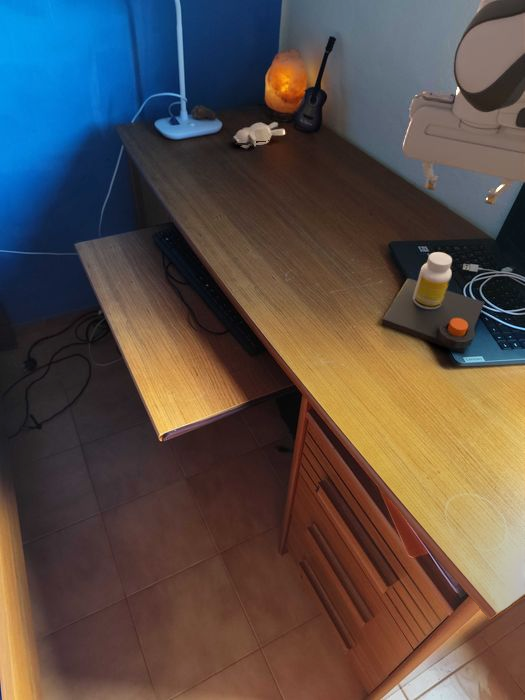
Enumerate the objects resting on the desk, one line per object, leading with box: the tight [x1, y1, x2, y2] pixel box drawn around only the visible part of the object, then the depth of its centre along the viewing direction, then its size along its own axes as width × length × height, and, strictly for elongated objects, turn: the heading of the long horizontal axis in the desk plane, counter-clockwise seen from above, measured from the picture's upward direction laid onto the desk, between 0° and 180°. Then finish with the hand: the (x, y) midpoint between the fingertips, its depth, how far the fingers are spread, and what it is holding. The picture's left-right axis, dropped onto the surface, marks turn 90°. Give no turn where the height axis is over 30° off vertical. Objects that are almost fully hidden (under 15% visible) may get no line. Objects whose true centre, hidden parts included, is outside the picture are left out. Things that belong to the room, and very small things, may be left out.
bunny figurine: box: [233, 121, 286, 149], centre depth 142 cm, size 10×5×15 cm
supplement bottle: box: [413, 251, 453, 309], centre depth 85 cm, size 5×5×10 cm
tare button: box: [447, 318, 468, 337], centre depth 80 cm, size 3×3×2 cm
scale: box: [381, 277, 486, 354], centre depth 86 cm, size 16×15×3 cm
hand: (459, 195), depth 73 cm, fingers open, 8 cm apart
